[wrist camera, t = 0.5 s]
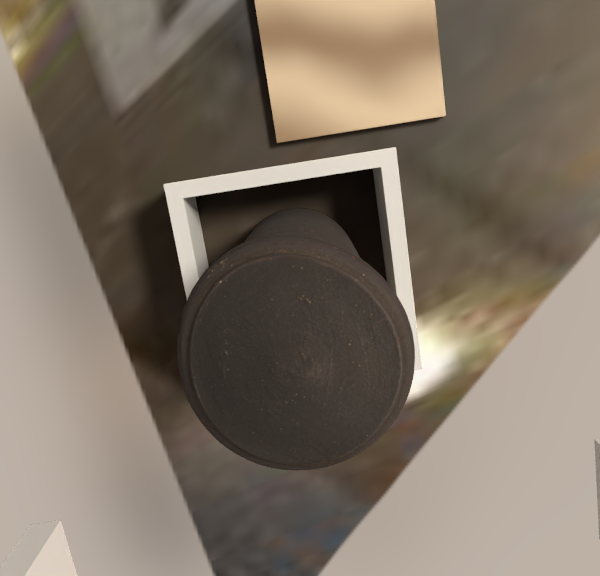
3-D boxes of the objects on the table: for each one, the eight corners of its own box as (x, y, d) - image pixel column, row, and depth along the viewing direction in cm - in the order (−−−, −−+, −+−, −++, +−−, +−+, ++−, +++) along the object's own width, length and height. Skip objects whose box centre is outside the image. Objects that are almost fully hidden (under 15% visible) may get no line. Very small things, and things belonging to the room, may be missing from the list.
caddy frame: (177, 182, 38) (163, 184, 34) (385, 149, 37) (395, 147, 33) (216, 378, 40) (207, 400, 36) (409, 349, 40) (421, 369, 36)
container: (244, 338, 40) (192, 501, 20) (225, 211, 38) (147, 255, 18) (365, 323, 40) (432, 473, 20) (352, 195, 38) (411, 223, 18)
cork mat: (248, -38, 35) (247, -42, 34) (425, -69, 34) (427, -72, 34) (277, 143, 37) (277, 142, 36) (443, 116, 37) (445, 115, 36)
